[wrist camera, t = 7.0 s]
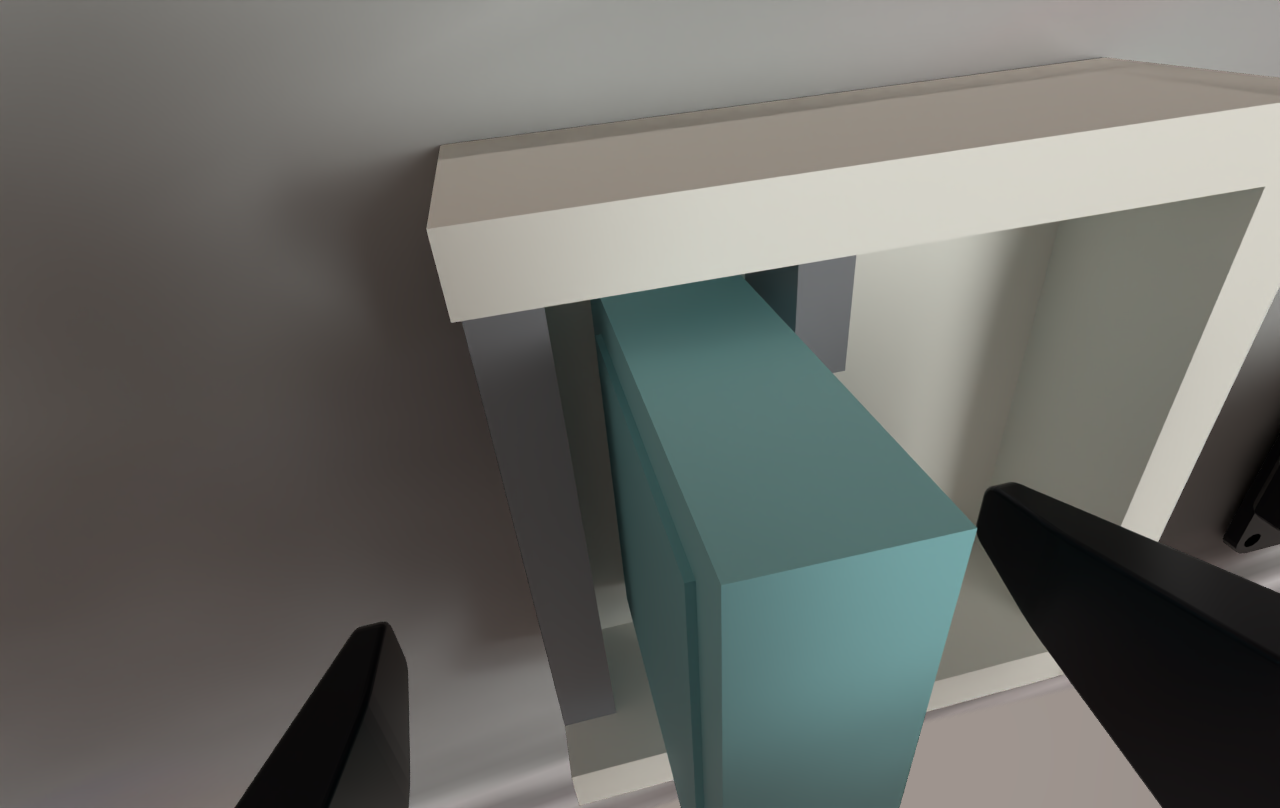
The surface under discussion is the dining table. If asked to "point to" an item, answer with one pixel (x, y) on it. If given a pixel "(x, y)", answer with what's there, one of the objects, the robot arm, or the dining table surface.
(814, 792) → the door
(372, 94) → the dining table surface
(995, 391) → the carcass
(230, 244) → the dining table surface
